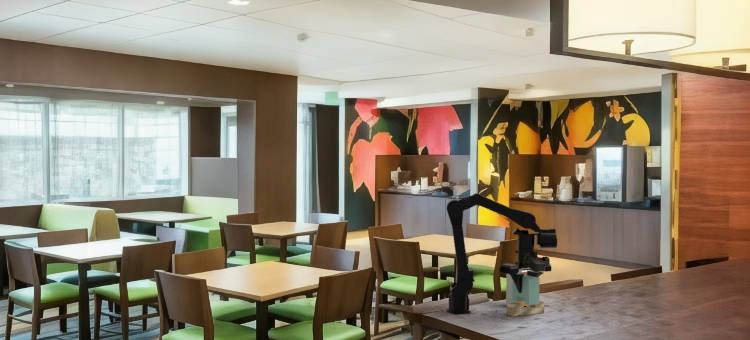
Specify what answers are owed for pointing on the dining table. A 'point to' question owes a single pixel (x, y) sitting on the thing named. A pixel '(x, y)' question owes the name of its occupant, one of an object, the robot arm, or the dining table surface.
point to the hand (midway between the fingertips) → (525, 292)
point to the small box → (509, 289)
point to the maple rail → (524, 309)
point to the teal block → (527, 290)
